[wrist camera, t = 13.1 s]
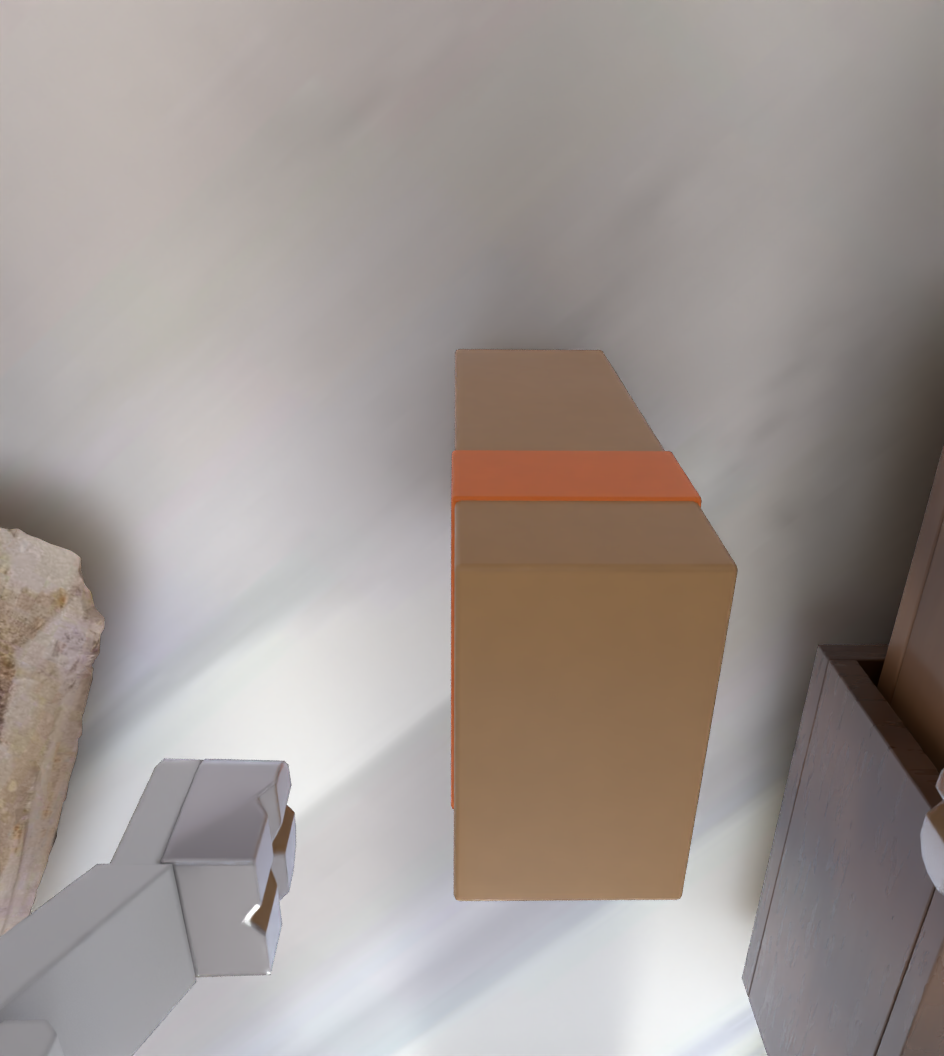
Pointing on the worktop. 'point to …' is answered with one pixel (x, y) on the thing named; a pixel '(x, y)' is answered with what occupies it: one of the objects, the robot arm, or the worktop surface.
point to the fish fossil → (38, 704)
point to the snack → (575, 635)
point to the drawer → (921, 636)
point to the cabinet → (850, 881)
